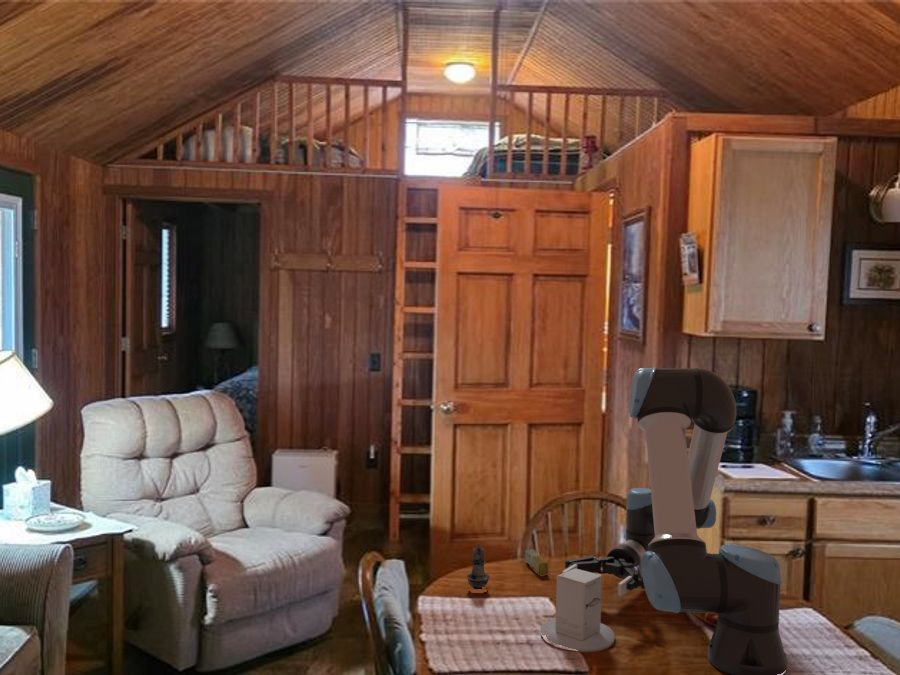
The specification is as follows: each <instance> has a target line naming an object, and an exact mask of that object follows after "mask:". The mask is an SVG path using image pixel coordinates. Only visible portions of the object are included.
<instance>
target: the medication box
mask: <svg viewBox="0 0 900 675" xmlns="http://www.w3.org/2000/svg"><path fill="white" fill-rule="evenodd" d="M524 554H525V555H524V558H525V559H524V560H525V561H526V562H527V563H528V564H529V565H530V566H531V567H532V568H533V569H534V570H535V571H536V572H537V573H538V574H539V575H545V574H548V575H549V563H548V561H547V560H546V559H545V558H543V557H542V556H541V555H540V554H539V553H538V552H537V551H536V550H535V549H534V548H527V549H525V550H524ZM525 561H524V562H525Z"/></svg>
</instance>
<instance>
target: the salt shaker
mask: <svg viewBox="0 0 900 675" xmlns="http://www.w3.org/2000/svg"><path fill="white" fill-rule="evenodd" d="M472 549H473V550H472V560H471V564H472V569H471V572H470V573H468V574H467V575H466V578H467V582H468V584H469V585H470V587H471V586H472V587H473V588H474V589H482V587H486V586H487V585H488V583H489V579H490V575H489V574H487V573H486V572H485V564H486V560H485V549H484V548H483V547H481V544H480V543H478V544H477V546H476V547H474V548H472Z"/></svg>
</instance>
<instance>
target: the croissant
mask: <svg viewBox="0 0 900 675" xmlns="http://www.w3.org/2000/svg"><path fill="white" fill-rule="evenodd" d="M693 614H694V615H695V616H696V617H697V618H699V619H701V620H702V621H703V622H705V623H706V624H707V623H708V624H707V625H710V626H712V625H713V626H712V627H716V625H717V622H718V613H698V612H693Z"/></svg>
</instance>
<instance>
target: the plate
mask: <svg viewBox="0 0 900 675" xmlns="http://www.w3.org/2000/svg"><path fill="white" fill-rule="evenodd" d="M555 625H556V618H554V619H551V620H550V619H549V620H548V621H546V622H544V623H543V624H542V625H541V627H540V630H542V629H544V630H542V631H544V632H542V631H541V632H542V633H544V634H542V635H545V628H546V629H547V630H546V631H547V632H546V637H547V639H548V640H550V641H552V642H554V643H556V644H559V645H562V646H565V647H568V648H572V649H576V650H578V651H581V652H580V653H593V652H600V651H603V650H607V649H609V648H610V647H612V645H614V643H615V633H614V631H613V629H611V627H609V626H608V625H607V624H604V623H602V622H600V631H599V632H597V633H595V634H593V635H591V636H589V637H588V638H586V639H584V640H583V641H581V640H578V639H575V638H573V637H570V636H567V635H564V634H561V633H558V632H556V631H555ZM544 626H545V627H544ZM542 627H543V628H542ZM548 630H549V631H548ZM548 632H549V633H548ZM547 635H548V636H547Z"/></svg>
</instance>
